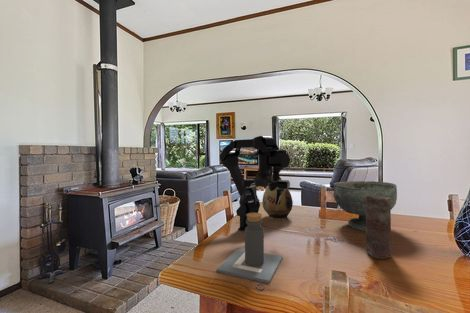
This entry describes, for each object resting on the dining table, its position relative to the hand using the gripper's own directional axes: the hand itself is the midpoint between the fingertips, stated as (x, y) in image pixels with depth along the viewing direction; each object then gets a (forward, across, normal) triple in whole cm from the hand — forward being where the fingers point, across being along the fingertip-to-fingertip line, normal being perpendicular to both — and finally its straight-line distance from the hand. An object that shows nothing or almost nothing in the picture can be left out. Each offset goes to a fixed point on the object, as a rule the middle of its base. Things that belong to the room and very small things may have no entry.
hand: (266, 204), depth 100 cm
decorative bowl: (+14, +38, +28) cm, 49 cm away
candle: (+14, +40, -3) cm, 42 cm away
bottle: (+12, +4, -25) cm, 29 cm away
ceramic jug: (+13, -2, +26) cm, 29 cm away
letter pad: (+13, +3, -26) cm, 29 cm away
